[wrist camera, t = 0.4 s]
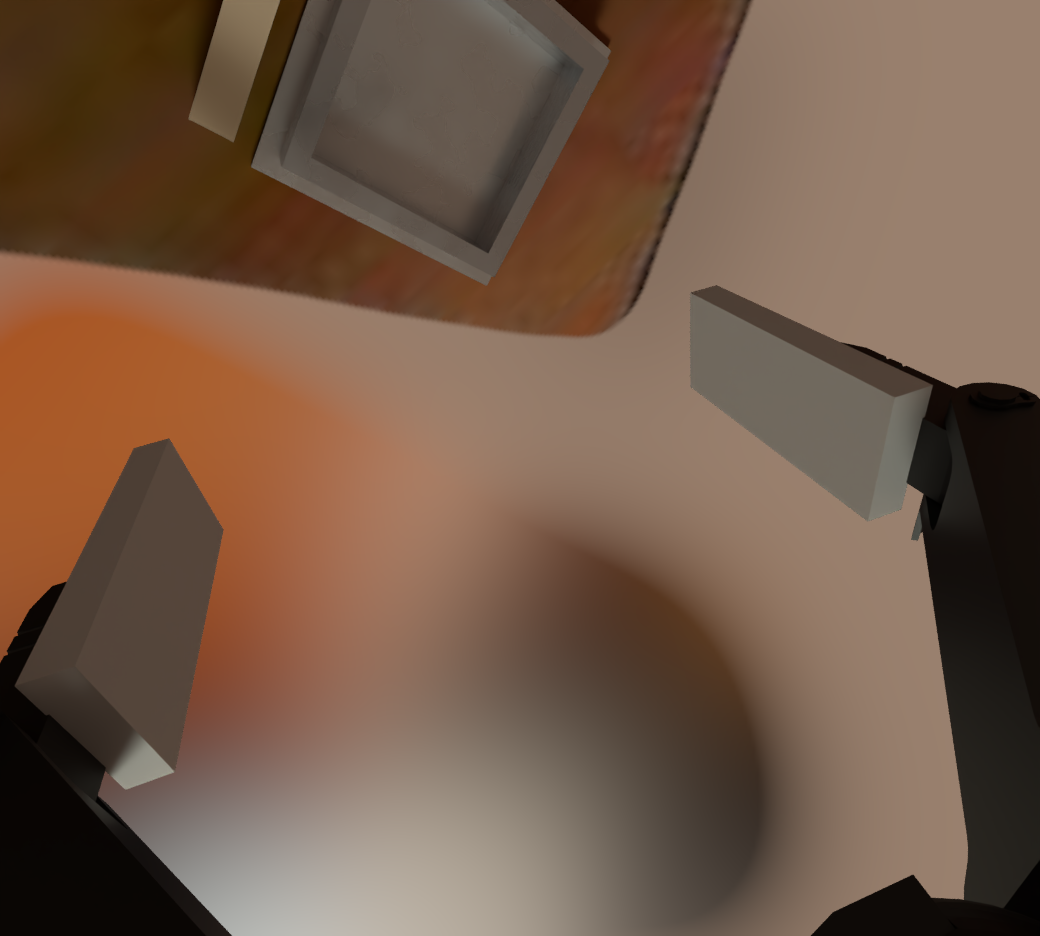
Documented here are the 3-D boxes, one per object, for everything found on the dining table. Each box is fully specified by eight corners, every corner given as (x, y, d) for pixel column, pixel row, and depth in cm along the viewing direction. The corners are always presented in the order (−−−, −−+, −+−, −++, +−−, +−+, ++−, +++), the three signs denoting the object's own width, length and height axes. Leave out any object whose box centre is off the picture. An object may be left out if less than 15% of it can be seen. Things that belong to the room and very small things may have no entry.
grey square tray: (364, -167, 24) (377, -187, 22) (606, 50, 32) (634, 52, 30) (250, 165, 29) (251, 176, 27) (484, 283, 37) (500, 299, 35)
